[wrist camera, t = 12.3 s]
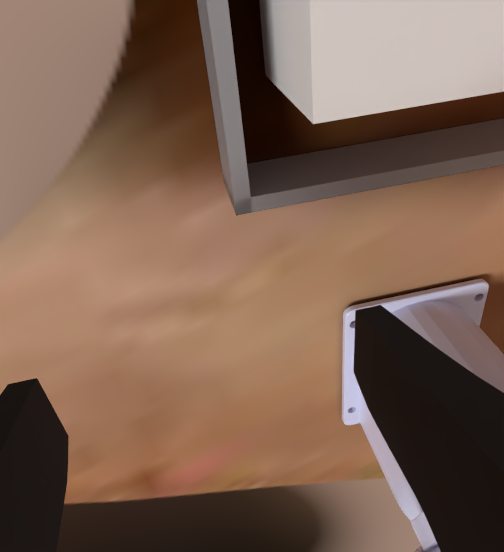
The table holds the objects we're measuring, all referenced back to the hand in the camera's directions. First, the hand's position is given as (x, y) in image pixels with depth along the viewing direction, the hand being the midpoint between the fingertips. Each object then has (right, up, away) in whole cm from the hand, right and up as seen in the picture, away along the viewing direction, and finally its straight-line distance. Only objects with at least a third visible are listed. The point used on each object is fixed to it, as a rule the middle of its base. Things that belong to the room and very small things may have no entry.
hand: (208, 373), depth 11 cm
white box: (+4, +12, +6) cm, 14 cm away
